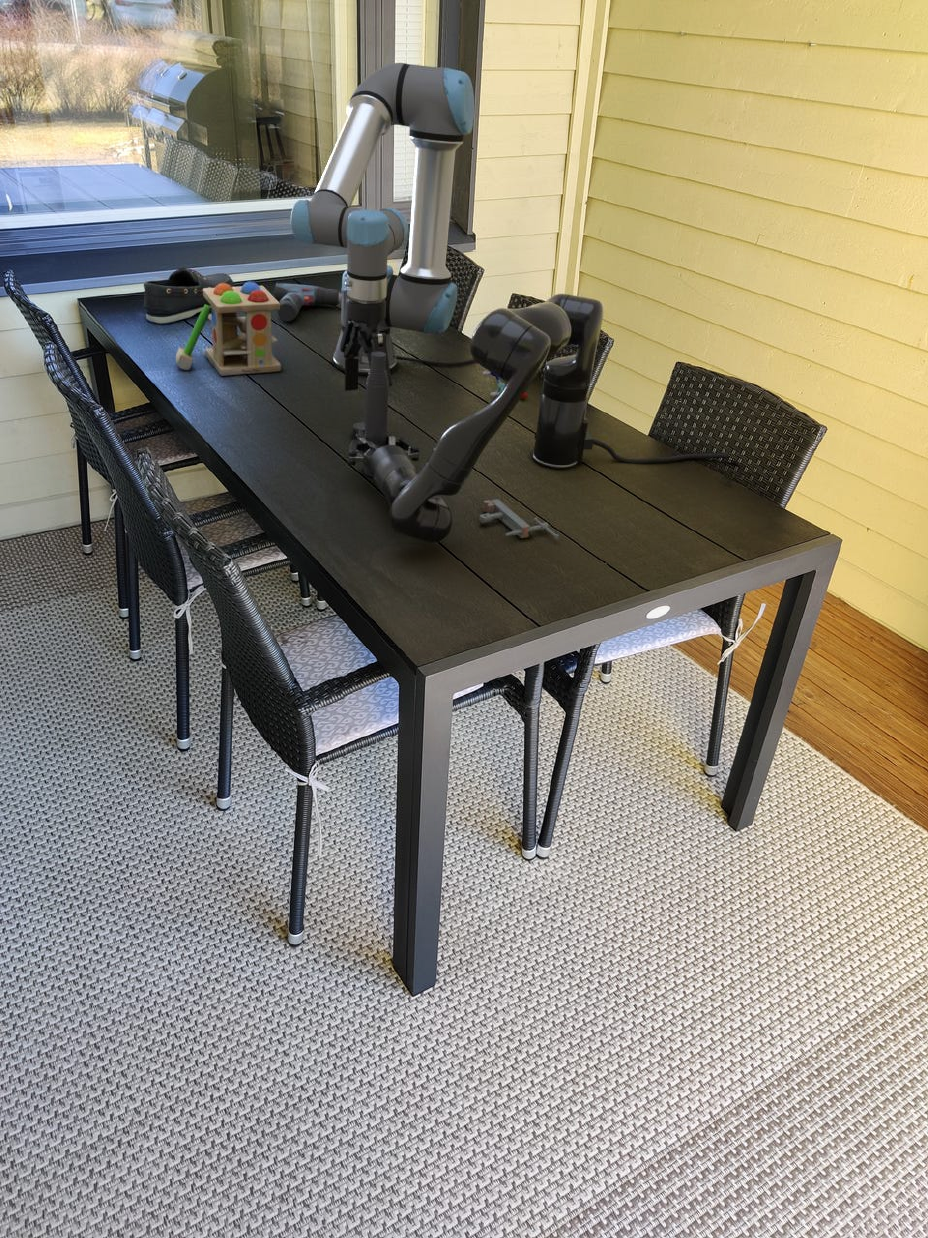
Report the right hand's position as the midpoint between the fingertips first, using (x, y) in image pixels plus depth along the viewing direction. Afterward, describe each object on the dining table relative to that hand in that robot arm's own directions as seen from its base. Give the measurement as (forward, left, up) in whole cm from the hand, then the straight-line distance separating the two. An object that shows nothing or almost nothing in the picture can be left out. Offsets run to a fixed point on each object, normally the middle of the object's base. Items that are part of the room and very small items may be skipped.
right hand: (371, 434), depth 189 cm
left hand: (-2, -14, +1) cm, 14 cm away
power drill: (-5, -95, -7) cm, 95 cm away
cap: (-2, -14, -4) cm, 14 cm away
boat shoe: (+24, -101, -7) cm, 104 cm away
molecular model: (-39, -30, -7) cm, 49 cm away
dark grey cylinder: (0, +3, -7) cm, 7 cm away
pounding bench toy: (+21, -57, -7) cm, 61 cm away
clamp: (-19, +29, -7) cm, 35 cm away
